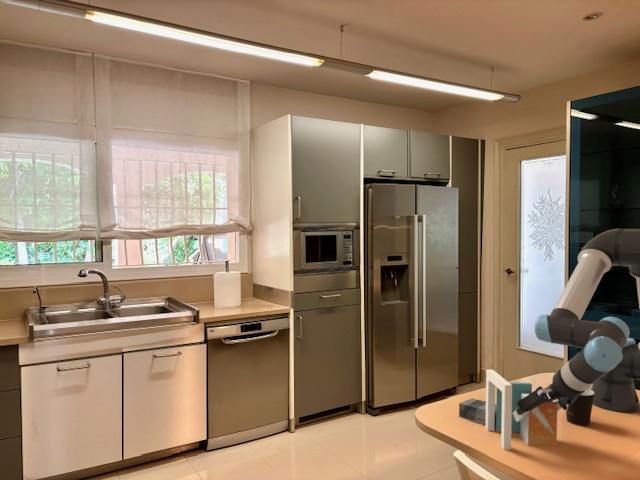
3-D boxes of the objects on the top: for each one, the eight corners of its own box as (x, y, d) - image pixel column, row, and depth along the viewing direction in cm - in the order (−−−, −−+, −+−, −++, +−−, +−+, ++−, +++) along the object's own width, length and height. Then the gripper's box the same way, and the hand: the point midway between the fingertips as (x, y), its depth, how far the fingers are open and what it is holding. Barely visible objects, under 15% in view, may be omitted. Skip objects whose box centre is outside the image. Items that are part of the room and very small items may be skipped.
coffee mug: (592, 429, 147) (593, 397, 147) (561, 423, 152) (562, 391, 152) (594, 417, 157) (595, 386, 157) (565, 411, 162) (565, 381, 161)
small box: (527, 446, 136) (528, 400, 136) (519, 436, 143) (520, 392, 142) (557, 447, 136) (558, 401, 136) (547, 437, 142) (548, 393, 142)
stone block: (473, 410, 163) (473, 395, 163) (514, 424, 152) (514, 407, 152) (458, 417, 157) (458, 401, 157) (500, 431, 146) (500, 414, 146)
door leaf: (496, 429, 146) (496, 381, 145) (529, 430, 145) (530, 382, 145) (498, 432, 143) (499, 384, 143) (532, 434, 143) (533, 385, 142)
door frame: (491, 427, 148) (492, 369, 148) (511, 449, 134) (512, 385, 133) (485, 427, 148) (486, 369, 148) (503, 449, 134) (504, 385, 133)
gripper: (544, 396, 121) (503, 432, 137) (616, 388, 127) (569, 423, 143) (530, 369, 126) (492, 406, 142) (600, 363, 132) (556, 399, 148)
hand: (531, 415), depth 142 cm, fingers open, 10 cm apart
